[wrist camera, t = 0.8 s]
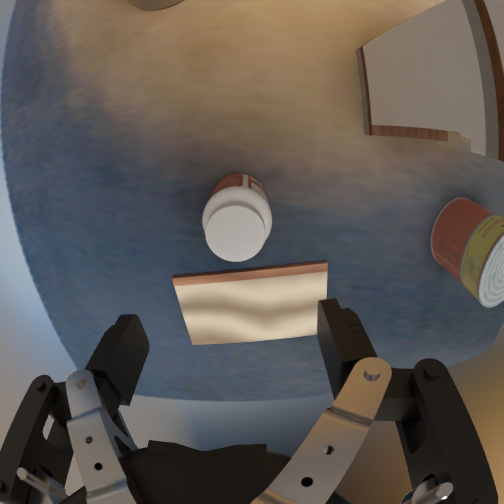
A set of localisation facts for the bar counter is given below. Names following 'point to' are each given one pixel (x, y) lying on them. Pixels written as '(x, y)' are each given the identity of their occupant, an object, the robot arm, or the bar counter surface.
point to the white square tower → (439, 76)
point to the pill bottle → (237, 218)
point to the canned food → (471, 248)
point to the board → (252, 302)
